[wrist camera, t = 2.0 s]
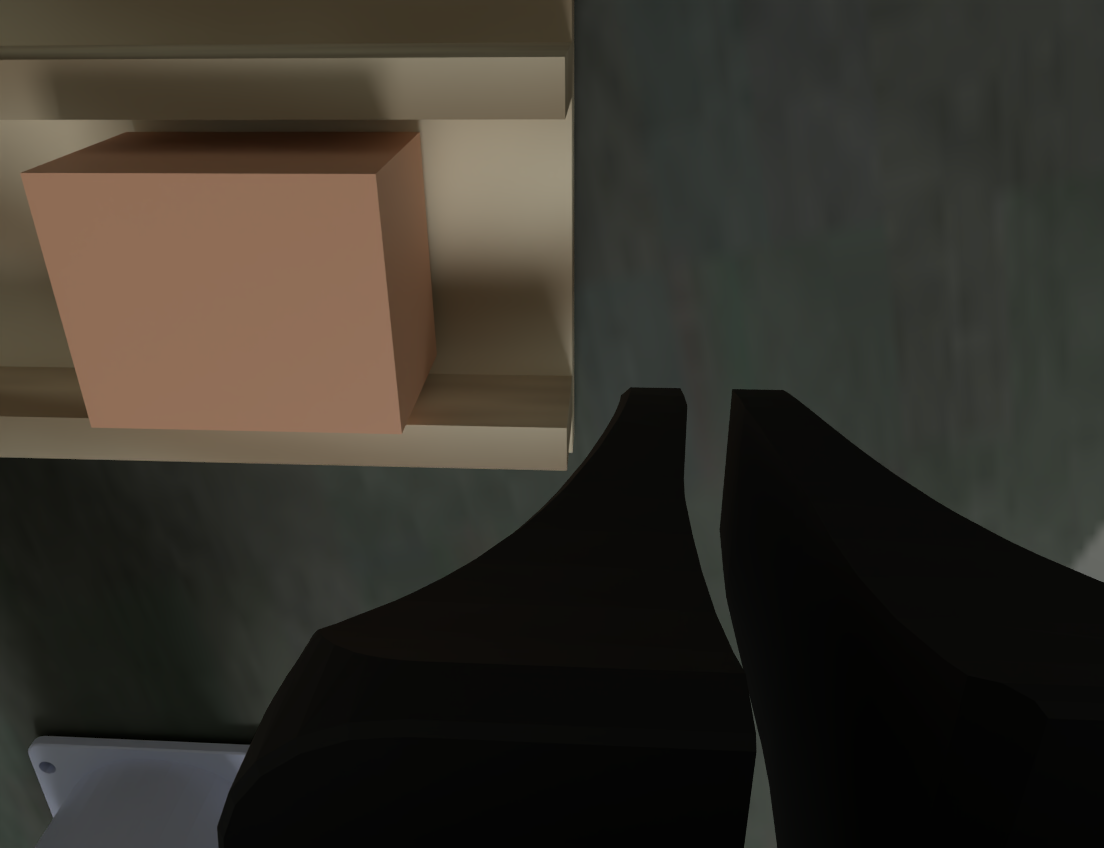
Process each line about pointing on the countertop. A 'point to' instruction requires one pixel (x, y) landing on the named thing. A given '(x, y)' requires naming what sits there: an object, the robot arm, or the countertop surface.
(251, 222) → the block
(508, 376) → the chute
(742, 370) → the countertop surface
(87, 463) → the countertop surface
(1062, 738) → the robot arm
